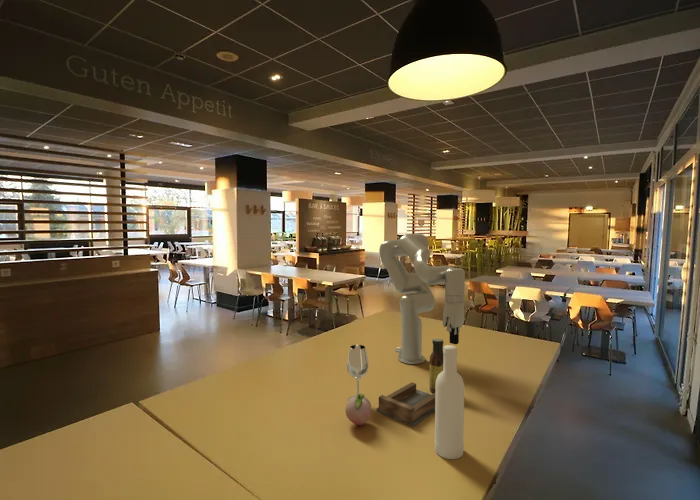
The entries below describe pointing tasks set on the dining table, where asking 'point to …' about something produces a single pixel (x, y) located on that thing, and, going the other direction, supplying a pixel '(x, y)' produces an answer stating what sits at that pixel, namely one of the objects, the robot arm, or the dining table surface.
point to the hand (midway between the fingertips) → (454, 343)
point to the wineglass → (357, 363)
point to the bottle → (449, 408)
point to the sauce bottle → (436, 363)
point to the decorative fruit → (358, 409)
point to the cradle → (407, 404)
